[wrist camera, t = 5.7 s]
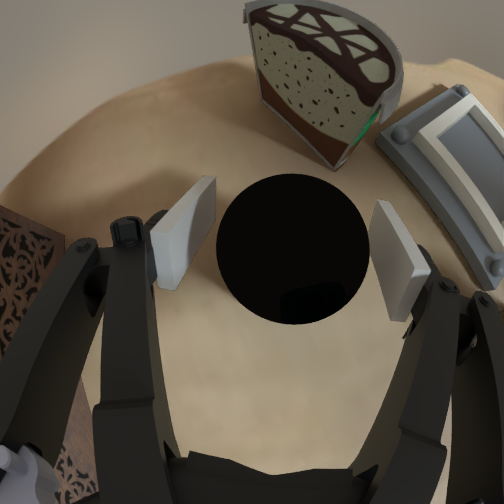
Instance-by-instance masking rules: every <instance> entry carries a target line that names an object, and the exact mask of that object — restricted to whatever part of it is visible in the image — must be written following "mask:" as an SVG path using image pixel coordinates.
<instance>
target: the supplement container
mask: <svg viewBox="0 0 504 504" xmlns="http://www.w3.org/2000/svg"><path fill="white" fill-rule="evenodd" d="M216 254H217V261H218V266H219V270H220V272H221V275H222V278H223V280H224V282H225V284H226V286H227V287H228V289H229V290H230V292H231V293H232V294H233V296H234V297H235V298H236V299H237V300H238V301H239V302H240V303H241V304H242V305H243V306H244V307H246V308H247V309H248V310H250V311H251V312H253V313H254V314H256V315H258V316H260V317H262V318H264V319H267V320H269V321H273V322H276V323H282V324H292V325H296V324H307V323H312V322H316V321H319V320H322V319H324V318H327V317H329V316H331V315H332V314H334V313H336V312H337V311H339V310H340V309H341V308H343V307H344V306H345V305H346V304H347V303H348V302H349V301H350V300H351V299H352V298H353V296H354V295H355V294H356V293H357V291H358V289H359V288H360V286H361V284H362V282H363V280H364V278H365V275H366V272H367V268H368V264H369V256H370V245H369V237H368V232H367V229H366V226H365V223H364V221H363V218H362V216H361V214H360V213H359V211H358V209H357V208H356V206H355V205H354V204H353V203H352V201H351V200H350V199H349V198H348V197H347V196H346V195H345V194H344V193H343V192H341V191H340V190H339V189H338V188H336V187H335V186H333V185H331V184H330V183H328V182H326V181H324V180H321V179H319V178H316V177H313V176H308V175H303V174H280V175H275V176H271V177H267V178H265V179H262V180H260V181H258V182H256V183H254V184H252V185H251V186H249V187H247V188H246V189H245V190H244V191H242V192H241V193H240V194H239V195H238V196H237V197H236V198H235V199H234V200H233V202H232V203H231V204H230V206H229V207H228V208H227V210H226V212H225V214H224V216H223V218H222V220H221V223H220V226H219V229H218V234H217V242H216Z"/></svg>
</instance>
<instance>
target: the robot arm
mask: <svg viewBox="0 0 504 504" xmlns="http://www.w3.org/2000/svg"><path fill="white" fill-rule="evenodd" d="M215 220H216V177H213V176H202V177H201V178H200V179H199V180H198V181H197V182H196V183H195V184H194V185H193V186H192V187H191V188H190V189H189V190H188V191H187V192H186V193H185V194H184V196H183V197H182V198H181V199H180V200H179V201H178V202H177V203H176V204H175V205H174V206H173V207H172V208H171V209H170V210H162V211H160V212H158V213H156V214H154V215H153V216H152V217H151V218H150V220H148V221H147V222H146V224H144V225H143V222H142V220H141V219H140V218H139V217H134V216H127V217H123V218H120V219H117V220H115V221H114V222H112V223H111V225H110V230H111V235H112V240H113V244H114V245H113V247H106V248H98V244H97V241H96V240H95V239H94V238H81V239H79V240H77V241H76V242H74V243H73V244H72V245H71V246H70V247H69V248H68V250H67V251H66V252H65V254H64V255H63V256H62V258H61V259H60V261H59V262H58V263H57V265H56V266H55V268H54V269H53V271H52V272H51V274H50V275H49V277H48V278H47V280H46V281H45V283H44V284H43V286H42V287H41V289H40V290H39V292H38V294H37V295H36V297H35V298H34V300H33V302H32V303H31V305H30V307H29V308H28V310H27V312H26V314H25V315H24V317H23V319H22V321H21V322H20V324H19V326H18V328H17V330H16V332H15V334H14V335H13V337H12V339H11V341H10V343H9V345H8V347H7V349H6V351H5V353H4V355H3V358H2V360H1V362H0V504H56V502H55V495H54V493H55V492H57V491H58V490H59V489H60V482H59V479H58V478H57V477H56V475H55V471H54V470H53V469H54V467H55V465H56V463H57V460H58V457H59V455H60V452H61V448H62V444H63V441H64V437H65V432H66V428H67V424H68V420H69V416H70V412H71V408H72V404H73V400H74V397H75V393H76V390H77V387H78V383H79V380H80V377H81V373H82V370H83V367H84V364H85V361H86V358H87V355H88V352H89V349H90V347H91V344H92V341H93V338H94V336H95V333H96V330H97V328H98V325H99V322H100V320H101V317H102V315H103V312H104V319H103V331H102V347H101V398H100V403H99V404H97V405H95V406H94V408H93V413H92V426H93V443H94V456H95V465H96V474H97V481H98V488H99V491H97V492H95V493H93V494H91V495H89V496H87V497H85V498H82V499H80V500H78V501H76V502H73V503H71V504H430V502H431V500H432V498H433V495H434V492H435V490H436V487H437V484H438V482H439V479H440V476H441V473H442V470H443V467H444V464H445V460H446V456H447V448H446V446H444V445H442V444H441V442H440V441H441V436H442V432H443V428H444V424H445V420H446V416H447V411H448V407H449V402H450V396H451V398H452V441H451V458H450V470H449V479H448V487H447V496H446V504H504V325H503V322H502V320H501V317H500V314H499V311H498V309H497V306H496V304H495V302H494V300H493V299H492V298H491V296H490V295H489V294H487V293H484V292H482V291H476V292H475V293H474V295H473V297H472V298H471V299H470V298H467V297H465V296H462V295H460V291H459V288H458V287H457V285H456V284H455V283H454V282H453V281H451V280H449V279H448V278H445V277H442V276H441V274H440V273H439V271H438V269H437V267H436V265H435V264H434V262H433V260H432V259H431V257H430V255H429V254H428V252H427V251H426V250H425V249H424V248H423V247H422V246H421V245H418V244H416V243H415V241H414V240H413V238H412V236H411V235H410V233H409V232H408V230H407V228H406V227H405V225H404V224H403V222H402V220H401V219H400V217H399V216H398V214H397V213H396V211H395V210H394V208H393V207H392V205H391V204H390V202H389V201H384V200H379V199H377V201H376V205H375V209H374V213H373V216H372V220H371V224H370V227H369V231H368V237H369V245H370V255H371V258H372V261H373V264H374V267H375V270H376V273H377V277H378V280H379V283H380V286H381V290H382V293H383V296H384V300H385V303H386V307H387V311H388V314H389V318H390V321H401V322H405V321H406V320H407V318H408V316H409V314H410V312H411V313H412V316H413V320H412V322H411V324H410V326H409V327H408V329H407V331H406V332H405V334H404V336H403V337H402V338H403V339H405V337H406V339H405V342H404V346H403V349H402V352H401V355H400V358H399V361H398V364H397V367H396V370H395V372H394V375H393V378H392V381H391V383H390V386H389V388H388V391H387V394H386V396H385V398H384V401H383V403H382V406H381V408H380V410H379V413H378V415H377V417H376V419H375V422H374V424H373V426H372V428H371V430H370V432H369V434H368V436H367V438H366V440H365V442H364V444H363V446H362V448H361V450H360V452H359V454H358V456H357V457H356V459H355V460H354V462H353V463H352V464H351V465H350V466H349V467H348V469H311V470H305V471H300V472H294V473H287V474H280V475H269V474H265V473H263V472H260V471H257V470H255V469H252V468H249V467H247V466H244V465H242V464H239V463H237V462H235V461H232V460H230V459H224V458H219V457H215V456H210V455H206V454H201V453H197V452H193V451H190V452H189V455H188V457H181V455H180V451H179V448H178V445H177V442H176V439H175V436H174V432H173V427H172V422H171V417H170V412H169V406H168V401H167V395H166V389H165V383H164V377H163V370H162V363H161V355H160V348H159V339H158V330H157V320H156V310H155V297H154V288H153V283H154V281H155V280H156V278H157V280H158V286H159V288H162V289H167V290H172V291H175V290H176V289H177V287H178V285H179V283H180V281H181V279H182V278H183V276H184V274H185V272H186V271H187V269H188V267H189V265H190V263H191V262H192V260H193V258H194V256H195V255H196V253H197V251H198V249H199V248H200V246H201V244H202V242H203V241H204V239H205V237H206V236H207V234H208V232H209V230H210V229H211V227H212V225H213V224H214V222H215ZM476 338H477V343H476V346H475V347H474V344H473V342H474V341H475V339H476Z"/></svg>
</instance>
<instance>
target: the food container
mask: <svg viewBox="0 0 504 504" xmlns="http://www.w3.org/2000/svg"><path fill="white" fill-rule="evenodd" d="M243 23H244V24H245V23H248V27H249V33H250V38H251V44H252V50H253V56H254V62H255V68H256V75H257V81H258V87H259V94H260V100H261V101H262V102H263V103H264V104H265V105H267V106H268V107H269V108H270V109H271V110H272V111H273V112H274V113H275V114H276V115H278V116H279V117H280V118H281V119H282V120H283V121H284V122H285V123H286V124H287V125H288V126H289V127H290V128H291V129H292V130H293V131H294V132H295V133H297V134H298V135H299V136H300V137H301V138H302V139H303V140H304V141H305V142H306V143H307V144H308V145H309V146H310V147H311V148H312V149H313V150H314V151H315V153H316V154H317V155H318V156H319V157H320V158H321V159H322V160H323V161H324V162H325V163H326V164H327V165H328V166H329V167H330V168H331V169H332V170H333V172H335V171H336V170H337V169H339V168H340V167H341V166H342V165H343V164H344V163H345V161H346V160H347V159H348V157H349V156H350V154H351V153H352V151H353V150H354V149H355V147H356V146H357V144H358V143H359V141H360V140H361V138H362V137H363V136H364V134H365V133H366V131H367V130H368V128H369V127H370V125H371V124H372V122H373V121H374V119H375V118H376V117H377V115H378V114H379V112H380V111H381V112H380V117H379V122H378V123H380V124H382V123H383V122H384V121H385V120H387V119H388V118H389V117H390V116H391V115H392V113H393V112H394V111H395V109H396V107H397V105H398V102H399V100H400V95H401V90H402V85H403V76H404V72H403V63H402V58H401V54H400V52H399V50H398V48H397V46H396V45H395V43H394V42H393V40H392V39H391V38H390V37H389V36H388V35H387V34H386V33H385V32H384V31H383V30H382V29H381V28H379V27H378V26H377V25H376V24H375V23H373V22H371V21H370V20H369V19H367V18H366V17H364V16H362V15H360V14H358V13H356V12H354V11H352V10H349V9H347V8H344V7H342V6H339V5H336V4H333V3H328V2H324V1H320V0H256V1H252V2H248V3H245V9H243Z"/></svg>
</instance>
